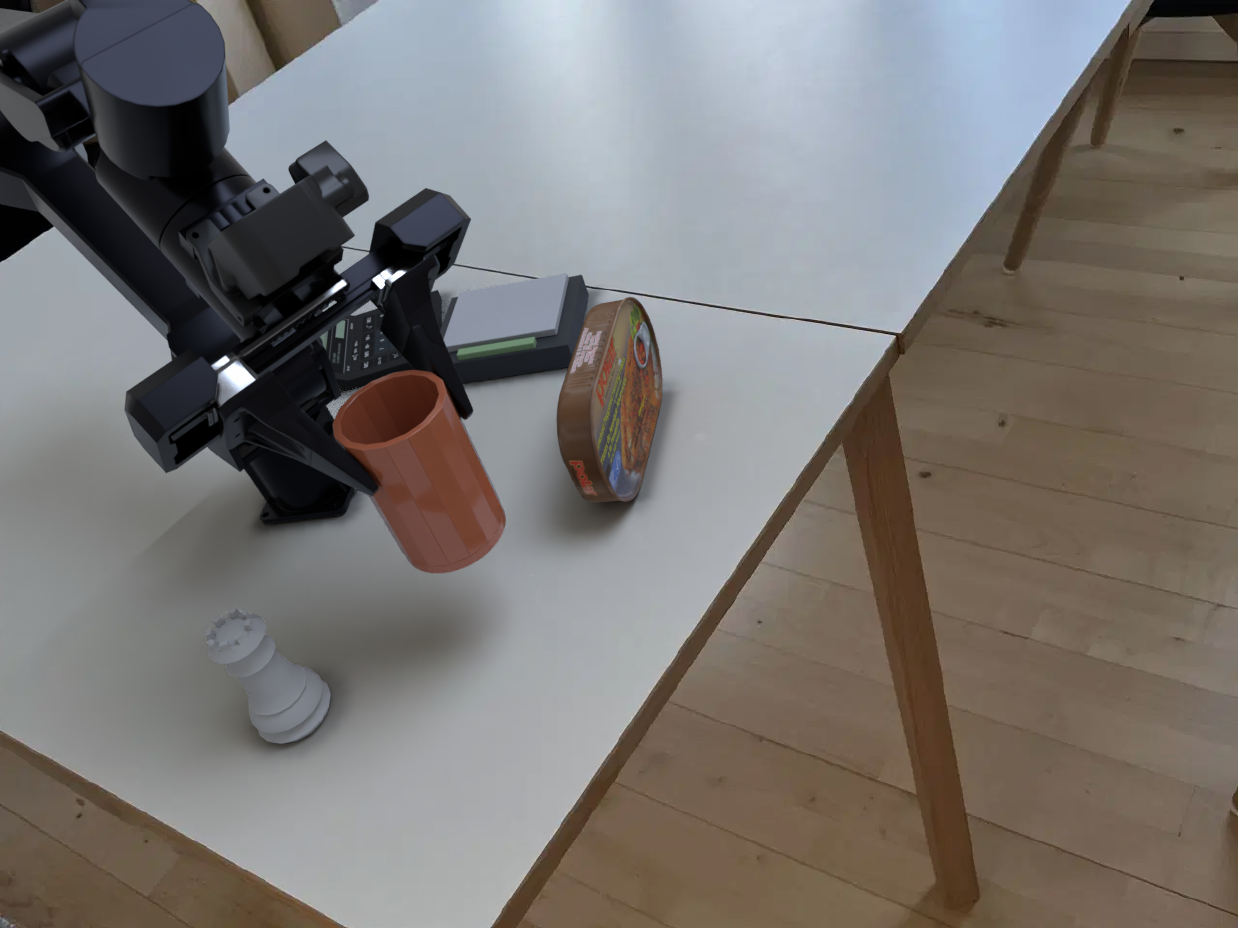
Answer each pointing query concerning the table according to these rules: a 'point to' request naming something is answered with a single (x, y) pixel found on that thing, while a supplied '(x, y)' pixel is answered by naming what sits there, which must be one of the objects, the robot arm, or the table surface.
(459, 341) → the scale
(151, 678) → the table surface
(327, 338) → the calculator
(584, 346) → the tin
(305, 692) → the rook chess piece
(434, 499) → the cup
